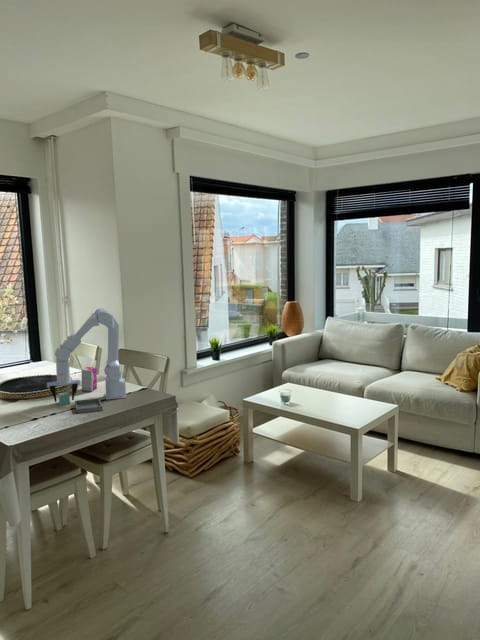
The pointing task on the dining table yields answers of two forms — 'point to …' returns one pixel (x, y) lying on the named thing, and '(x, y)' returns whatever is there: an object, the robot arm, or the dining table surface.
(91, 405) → the tray
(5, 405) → the dining table surface
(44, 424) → the dining table surface
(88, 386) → the supplement box
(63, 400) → the teal block
